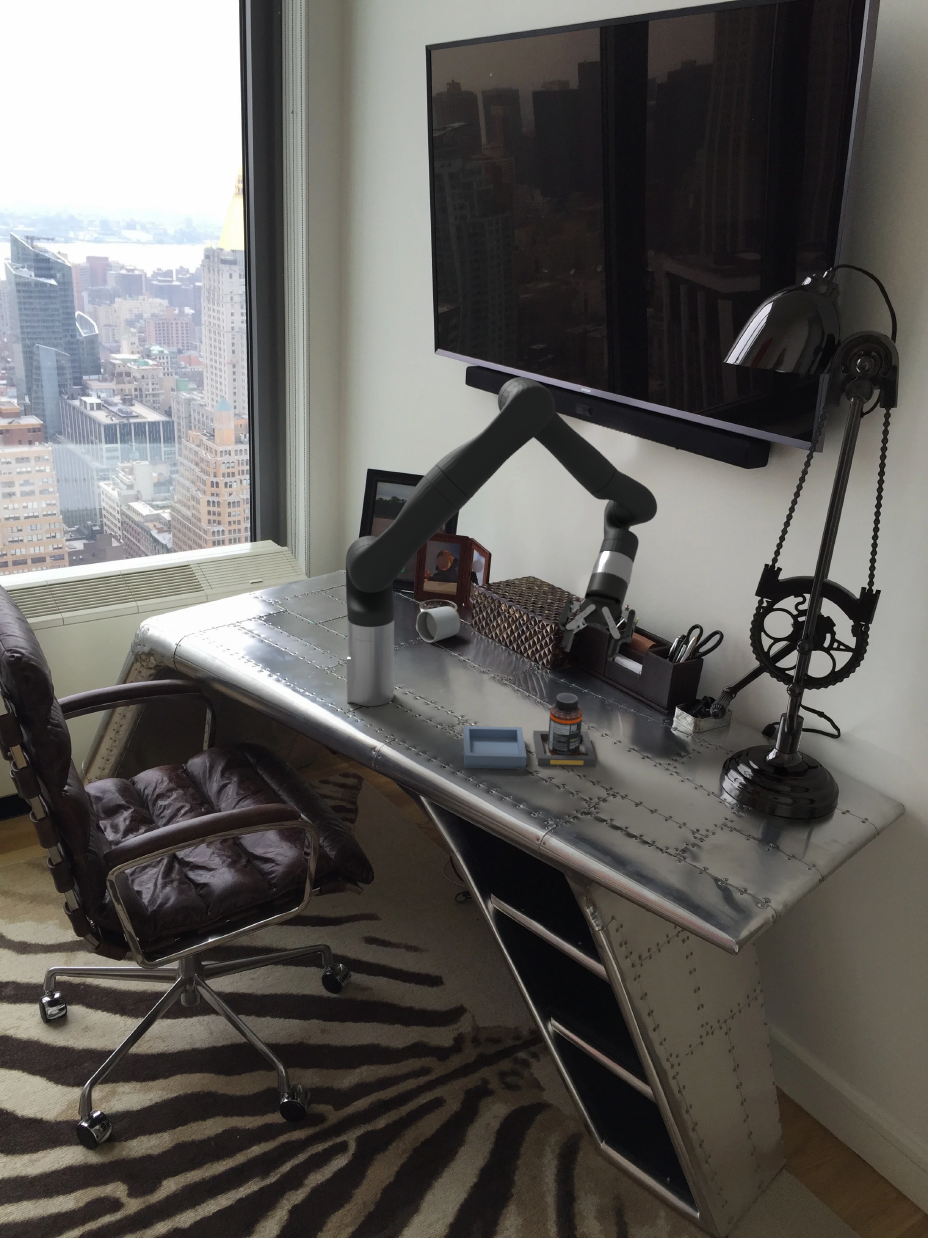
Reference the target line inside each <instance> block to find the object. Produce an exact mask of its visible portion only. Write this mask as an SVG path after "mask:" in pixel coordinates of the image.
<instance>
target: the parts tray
mask: <svg viewBox="0 0 928 1238" xmlns="http://www.w3.org/2000/svg"><path fill="white" fill-rule="evenodd" d="M462 730H463V732H462V734H463V735H462V739H463V741H462V742H463V743H462V744H463V766H464V768H467V769H505V770H506V769H511V770H513V769H515V770H526V768H527V753H526V752H527V751H526V744H525V739H524V733H523V732H524V731H523V727H517V726H480V725H479V726H476V725H473V726H470V725H469V726H468V725H466V726H465V725H463V729H462Z"/></svg>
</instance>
